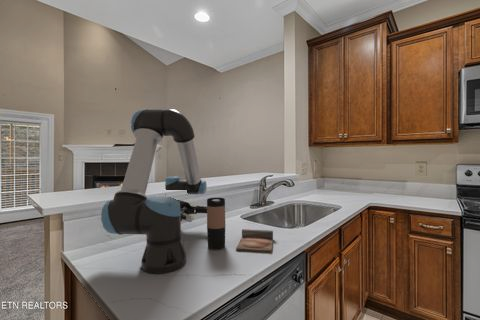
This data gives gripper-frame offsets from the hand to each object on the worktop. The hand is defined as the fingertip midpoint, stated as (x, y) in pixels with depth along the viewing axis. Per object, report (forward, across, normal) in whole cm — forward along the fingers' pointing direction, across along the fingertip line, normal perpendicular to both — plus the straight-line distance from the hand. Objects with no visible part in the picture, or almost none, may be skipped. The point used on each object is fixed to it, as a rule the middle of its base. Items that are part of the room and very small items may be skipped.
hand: (204, 216), depth 107 cm
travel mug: (+9, 0, -11) cm, 15 cm away
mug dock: (+19, -13, -11) cm, 26 cm away
